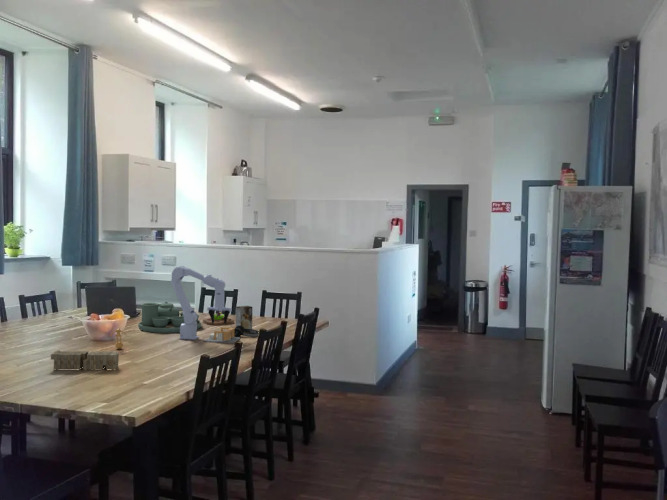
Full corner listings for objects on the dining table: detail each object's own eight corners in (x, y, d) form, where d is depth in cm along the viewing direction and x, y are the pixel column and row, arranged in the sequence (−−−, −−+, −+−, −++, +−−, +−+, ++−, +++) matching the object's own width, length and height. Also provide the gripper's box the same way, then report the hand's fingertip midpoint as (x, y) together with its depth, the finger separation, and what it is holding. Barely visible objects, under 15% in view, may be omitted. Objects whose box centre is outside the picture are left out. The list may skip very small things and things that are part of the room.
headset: (231, 317, 370) (261, 321, 370) (228, 331, 370) (259, 336, 370) (226, 320, 356) (259, 325, 356) (224, 335, 357) (256, 340, 357)
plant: (222, 320, 420) (222, 304, 419) (237, 323, 406) (238, 308, 405) (198, 322, 406) (198, 306, 405) (213, 326, 392) (213, 310, 391)
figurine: (127, 348, 319) (128, 326, 318) (125, 350, 313) (125, 328, 312) (112, 348, 317) (112, 326, 317) (109, 350, 311) (109, 328, 311)
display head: (204, 341, 341) (204, 332, 341) (211, 337, 355) (212, 328, 355) (233, 343, 339) (233, 334, 339) (240, 338, 353) (240, 329, 353)
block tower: (119, 368, 279) (56, 366, 276) (120, 351, 279) (57, 349, 276) (115, 372, 271) (50, 370, 268) (116, 354, 271) (50, 352, 268)
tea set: (169, 336, 356) (169, 309, 355) (125, 328, 377) (125, 303, 376) (214, 327, 390) (214, 302, 389) (171, 320, 411) (171, 297, 410)
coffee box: (247, 329, 384) (247, 305, 383) (252, 330, 379) (253, 306, 378) (235, 330, 378) (235, 306, 377) (240, 332, 373) (240, 307, 372)
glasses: (214, 339, 341) (214, 331, 340) (221, 335, 354) (221, 327, 354) (227, 340, 340) (227, 331, 339) (234, 336, 353) (234, 328, 353)
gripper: (205, 300, 345) (205, 323, 346) (229, 301, 343) (228, 324, 344) (209, 299, 352) (209, 321, 353) (232, 300, 350) (232, 322, 351)
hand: (219, 322), depth 349 cm, fingers open, 7 cm apart
